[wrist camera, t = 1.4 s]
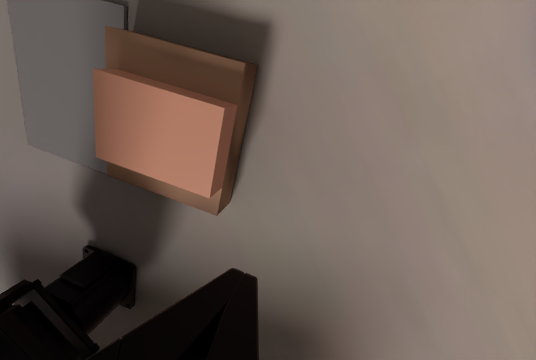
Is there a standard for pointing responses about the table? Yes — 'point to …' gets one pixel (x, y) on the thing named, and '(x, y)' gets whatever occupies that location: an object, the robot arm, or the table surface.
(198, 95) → the block
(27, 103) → the mat
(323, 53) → the table surface
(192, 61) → the plate
